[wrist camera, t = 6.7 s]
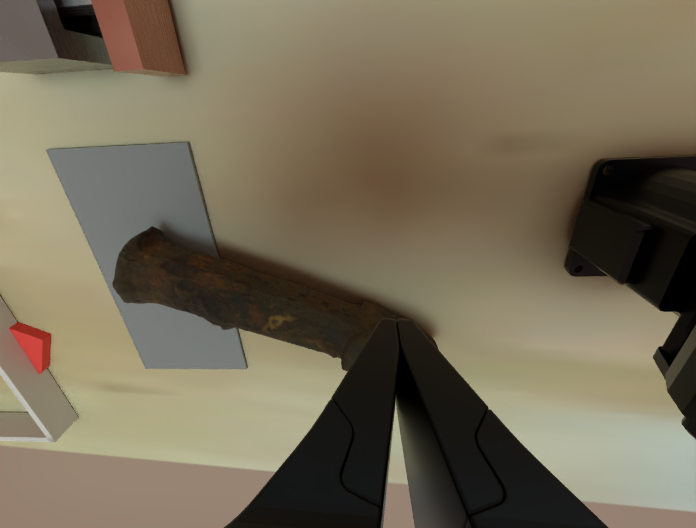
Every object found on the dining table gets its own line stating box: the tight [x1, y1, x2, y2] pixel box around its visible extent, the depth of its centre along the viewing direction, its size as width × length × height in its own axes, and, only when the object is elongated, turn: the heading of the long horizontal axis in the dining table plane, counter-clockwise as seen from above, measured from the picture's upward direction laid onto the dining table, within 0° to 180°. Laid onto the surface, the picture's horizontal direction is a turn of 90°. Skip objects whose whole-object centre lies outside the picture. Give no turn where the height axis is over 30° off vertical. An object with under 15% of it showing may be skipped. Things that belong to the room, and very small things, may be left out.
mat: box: [46, 142, 248, 369], centre depth 21 cm, size 8×16×1 cm, turn 3°
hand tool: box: [112, 226, 438, 371], centre depth 19 cm, size 19×4×5 cm, turn 68°
